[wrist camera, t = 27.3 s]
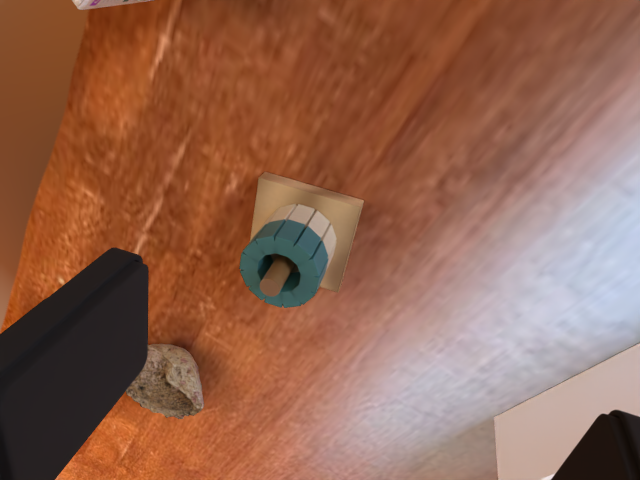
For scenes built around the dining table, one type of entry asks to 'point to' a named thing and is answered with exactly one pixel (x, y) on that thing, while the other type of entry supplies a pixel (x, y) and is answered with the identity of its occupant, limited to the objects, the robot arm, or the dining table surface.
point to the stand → (328, 203)
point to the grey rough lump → (168, 382)
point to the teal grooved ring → (297, 247)
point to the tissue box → (564, 417)
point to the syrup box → (102, 3)
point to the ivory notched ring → (309, 219)
